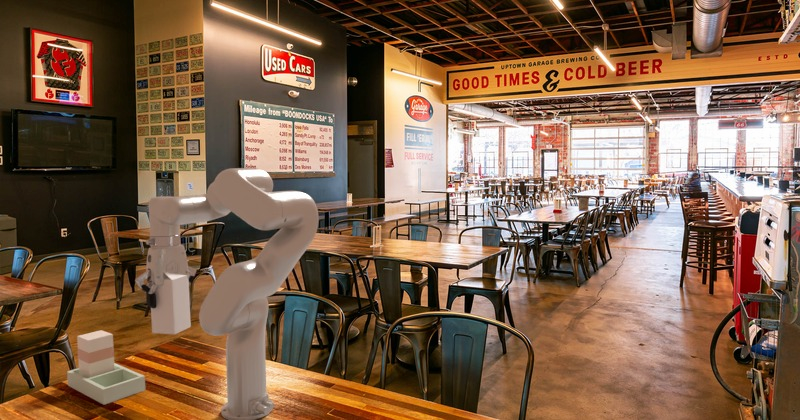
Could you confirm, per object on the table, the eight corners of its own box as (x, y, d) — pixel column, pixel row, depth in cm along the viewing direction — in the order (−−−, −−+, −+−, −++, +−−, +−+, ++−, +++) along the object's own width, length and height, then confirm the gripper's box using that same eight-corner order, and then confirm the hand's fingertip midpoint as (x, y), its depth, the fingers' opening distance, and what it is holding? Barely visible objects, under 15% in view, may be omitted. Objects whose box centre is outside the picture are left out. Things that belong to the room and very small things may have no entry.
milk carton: (191, 327, 150) (187, 260, 149) (174, 335, 143) (170, 265, 142) (169, 326, 152) (165, 259, 150) (151, 333, 145) (148, 264, 144)
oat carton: (115, 382, 152) (113, 334, 151) (90, 390, 147) (88, 340, 146) (104, 376, 156) (101, 330, 155) (79, 384, 151) (76, 336, 150)
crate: (145, 392, 147) (144, 376, 147) (104, 407, 138) (103, 389, 138) (108, 375, 159) (107, 359, 159) (67, 388, 150) (67, 371, 150)
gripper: (141, 246, 137) (145, 312, 138) (201, 239, 151) (204, 299, 152) (126, 244, 141) (130, 308, 142) (186, 237, 155) (189, 295, 156)
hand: (168, 303), depth 147 cm, fingers closed on milk carton, 9 cm apart
